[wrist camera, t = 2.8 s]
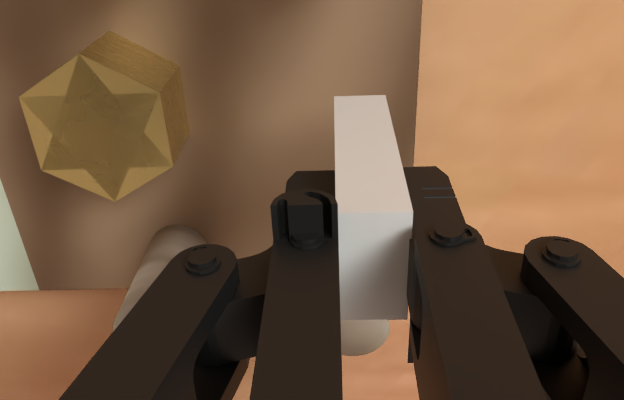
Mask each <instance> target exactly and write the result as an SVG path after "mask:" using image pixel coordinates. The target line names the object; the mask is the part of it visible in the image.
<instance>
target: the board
mask: <svg viewBox="0 0 624 400" xmlns="http://www.w3.org/2000/svg"><path fill="white" fill-rule="evenodd" d="M421 14H422V0H0V291H29V290H77V289H126V288H129V290H128V292H127V294H126V297H125V299H124V301H123V303H122V305H121V308H120V310H119V312H118V314H117V316H116V319H115V321H114V323H113V331H114V330H115V329H116V328H117V326H118V325H119V324H120V323H121V322H122V320H123V319H124V318H125V317H126V315H127V314H128V313H129V312H130V310H131V309H132V308H133V307H134V305H135V304H136V303H137V302H138V300H139V299H140V298H141V297H142V295H143V294H144V293H145V292H146V290H147V289H148V288H149V287H150V285H151V284H152V283H153V282H154V280H155V279H156V278H157V277H158V276H159V274H160V273H161V272H162V271H163V269H164V268H165V267H166V266H167V264H168V263H169V262H170V261H171V259H172V258H174V257H175V256H176V255H177V254H178V253H179V252H181V251H183V250H185V249H188V248H190V247H193V246H197V245H202V244H217V245H221V246H225V247H227V248H229V249H230V250H232V251H233V252H234V253H235V256H236V258H237V259H240V258H245V257H249V256H253V255H256V254H259V253H261V252H263V251H265V250H267V249H268V248H270V247H271V246H273V232H272V220H271V209H270V205H271V203H272V201H273V200H274V199H275V198H276V197H278V196H279V195H280V194H282V193H285V190H286V183H287V180H288V179H289V178H290V177H291V176H292V175H293V174H294V173H295V172H296V171H318V170H335V132H334V96H364V95H386V99H387V104H388V108H389V112H390V116H391V120H392V125H393V129H394V133H395V137H396V141H397V146H398V150H399V154H400V158H401V162H402V166H403V167H413V163H414V145H415V126H416V107H417V89H418V70H419V52H420V33H421ZM108 31H111V32H113V33H115V34H117V35H120V36H122V37H124V38H126V39H128V40H130V41H132V42H134V43H136V44H138V45H140V46H142V47H144V48H146V49H148V50H150V51H152V52H154V53H156V54H158V55H160V56H162V57H164V58H166V59H168V60H170V61H172V62H174V63H176V64H178V65H179V66H180V72H181V78H182V85H183V91H184V97H185V104H186V110H187V116H188V123H189V129H190V133H189V135H188V137H187V139H186V142H185V144H184V146H183V148H182V150H181V152H180V154H179V156H178V158H177V160H176V162H175V164H174V166H173V167H172V168H170V169H168V170H167V171H165V172H163V173H162V174H160V175H158V176H157V177H155V178H153V179H152V180H150V181H148V182H147V183H145V184H143V185H142V186H140V187H139V188H137V189H135V190H134V191H132V192H130V193H129V194H127V195H125V196H124V197H122V198H120V199H119V200H117V201H115V202H114V201H112V200H110V199H107V198H105V197H103V196H100V195H98V194H96V193H93V192H91V191H89V190H86V189H84V188H82V187H79V186H77V185H75V184H72V183H70V182H67V181H65V180H63V179H60V178H58V177H56V176H53V175H51V174H49V173H46V172H44V171H42V170H41V168H40V165H39V161H38V158H37V155H36V152H35V148H34V145H33V142H32V139H31V135H30V132H29V129H28V126H27V122H26V119H25V116H24V113H23V109H22V106H21V103H20V100H19V96H21V95H22V94H23V93H25V92H26V91H27V90H29V89H30V88H31V87H33V86H34V85H35V84H36V83H38V82H39V81H40V80H42V79H43V78H44V77H46V76H47V75H48V74H50V73H51V72H52V71H53V70H55V69H56V68H58V67H59V66H60V65H62V64H63V63H65V62H66V61H67V60H69V59H70V58H71V57H73V56H74V55H76V54H77V53H78V52H80V51H81V50H83V49H84V48H85V47H87V46H88V45H90V44H91V43H92V42H94V41H95V40H97V39H98V38H99V37H101V36H102V35H103V34H105V33H106V32H108ZM388 334H389V321H388V320H341V354H342V355H347V356H359V355H364V354H368V353H370V352H373V351H375V350H376V349H378V348H379V347H380V346H381V345H382V344H383V343H384V342H385V341H386V339H387V337H388Z"/></svg>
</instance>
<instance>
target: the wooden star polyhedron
mask: <svg viewBox="0 0 624 400" xmlns="http://www.w3.org/2000/svg"><path fill="white" fill-rule="evenodd" d="M19 100H20V103H21V106H22V109H23V113H24V116H25V119H26V122H27V126H28V129H29V132H30V135H31V139H32V142H33V145H34V148H35V152H36V155H37V158H38V161H39V165H40V168H41V170H42V171H44V172H46V173H49V174H51V175H53V176H56V177H58V178H60V179H63V180H65V181H67V182H70V183H72V184H75V185H77V186H79V187H82V188H84V189H86V190H89V191H91V192H93V193H96V194H98V195H100V196H103V197H105V198H107V199H110V200H112V201H114V202H115V201H117V200H119V199H120V198H122V197H124V196H125V195H127V194H129V193H130V192H132V191H134V190H135V189H137V188H139V187H140V186H142V185H143V184H145V183H147V182H148V181H150V180H152V179H153V178H155V177H157V176H158V175H160V174H162V173H163V172H165V171H167V170H168V169H170V168H172V167H173V166H174V164H175V162H176V160H177V158H178V156H179V154H180V152H181V150H182V148H183V146H184V144H185V142H186V139H187V137H188V135H189V133H190V129H189V123H188V116H187V110H186V104H185V97H184V91H183V85H182V78H181V72H180V66H179V65H178V64H176V63H174V62H172V61H170V60H168V59H166V58H164V57H162V56H160V55H158V54H156V53H154V52H152V51H150V50H148V49H146V48H144V47H142V46H140V45H138V44H136V43H134V42H132V41H130V40H128V39H126V38H124V37H122V36H120V35H117V34H115V33H113V32H111V31H108V32H106V33H105V34H103V35H102V36H101V37H99V38H98V39H97V40H95V41H94V42H92V43H91V44H90V45H88V46H87V47H85V48H84V49H83V50H81V51H80V52H78V53H77V54H76V55H74V56H73V57H71V58H70V59H69V60H67V61H66V62H65V63H63V64H62V65H60V66H59V67H58V68H56V69H55V70H53V71H52V72H51V73H50V74H48V75H47V76H46V77H44V78H43V79H42V80H40V81H39V82H38V83H36V84H35V85H34V86H33V87H31V88H30V89H29V90H27V91H26V92H25V93H23V94H22V95H21V96H19Z"/></svg>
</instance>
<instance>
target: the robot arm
mask: <svg viewBox="0 0 624 400" xmlns="http://www.w3.org/2000/svg"><path fill="white" fill-rule="evenodd" d="M334 132H335V170H318V171H296V172H295V173H294V174H293V175H292V176H291V177H290V178H289V179H288V180H287V183H286V190H285V193H282V194H280V195H279V196H278V197H276V198H275V199H274V200H273V201H272V203H271V205H270V209H271V220H272V232H273V246H271V247H270V248H268V249H267V250H265V251H263V252H261V253H259V254H256V255H253V256H249V257H245V258H240V259H237V258H236V256H235V253H234V252H233V251H232V250H230V249H229V248H227V247H225V246H221V245H217V244H202V245H197V246H193V247H190V248H188V249H185V250H183V251H181V252H179V253H178V254H177V255H176V256H175V257H174V258H172V259H171V261H170V262H169V263H168V264H167V266H166V267H165V268H164V269H163V271H162V272H161V273H160V274H159V276H158V277H157V278H156V279H155V280H154V282H153V283H152V284H151V285H150V287H149V288H148V289H147V290H146V292H145V293H144V294H143V295H142V297H141V298H140V299H139V300H138V302H137V303H136V304H135V305H134V307H133V308H132V309H131V310H130V312H129V313H128V314H127V315H126V317H125V318H124V319H123V320H122V322H121V323H120V324H119V325H118V326H117V328H116V329H115V330H114V331H113V333H112V334H111V335H110V336H109V338H108V339H107V340H106V341H105V343H104V344H103V345H102V346H101V348H100V349H99V350H98V351H97V353H96V354H95V355H94V356H93V358H92V359H91V360H90V361H89V363H88V364H87V365H86V366H85V368H84V369H83V370H82V371H81V372H80V374H79V375H78V376H77V377H76V379H75V380H74V381H73V382H72V384H71V385H70V386H69V387H68V389H67V390H66V391H65V392H64V394H63V395H62V396H61V397H60V399H59V400H232V399H233V397H234V395H235V393H236V391H237V389H238V386H239V384H240V382H241V380H242V378H243V376H244V374H245V372H246V370H247V368H248V364H249V359H250V358H251V357H255V356H256V361H255V367H254V374H253V381H252V388H251V394H250V400H343V398H342V359H341V320H397V319H407V315H408V306H409V312H410V332H409V348H408V363H413V362H414V368H415V375H416V381H417V387H418V393H419V399H420V400H624V278H623V277H622V276H621V275H620V274H618V273H617V272H616V271H615V270H614V269H613V268H612V267H611V266H609V265H608V264H607V263H606V262H605V261H604V260H603V259H602V258H601V257H599V256H598V255H597V254H596V253H595V252H594V251H593V250H591V249H590V248H588V247H587V246H585V245H584V244H582V243H579V242H577V241H574V240H571V239H569V238H564V237H556V236H550V237H540V238H537V239H533V240H531V241H530V242H529V243H528V244H527V245H525V250H524V254H520V253H515V252H509V251H504V250H499V249H495V248H492V247H490V246H487V245H485V244H484V241H483V239H482V236H481V235H480V234H479V232H478V231H477V230H476V229H474V228H473V227H471V226H469V225H468V224H466V223H465V220H464V217H463V215H462V212H461V210H460V207H459V204H458V202H457V199H456V198H455V194H454V191H453V189H452V186H451V183H450V180H449V178H448V176H447V175H446V174H445V173H444V172H442V171H441V170H440V169H439V168H437V167H436V166H430V167H403V166H402V162H401V158H400V154H399V150H398V146H397V141H396V137H395V133H394V129H393V125H392V120H391V116H390V112H389V108H388V104H387V99H386V95H364V96H334Z"/></svg>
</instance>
